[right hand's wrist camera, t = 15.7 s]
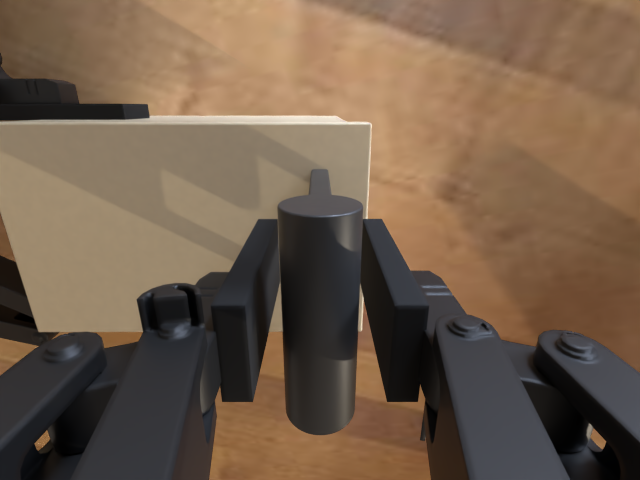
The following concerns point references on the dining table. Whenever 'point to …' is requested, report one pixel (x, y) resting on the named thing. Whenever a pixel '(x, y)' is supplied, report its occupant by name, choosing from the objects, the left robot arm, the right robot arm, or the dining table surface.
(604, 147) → the dining table surface
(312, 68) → the dining table surface
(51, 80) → the left robot arm
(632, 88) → the dining table surface
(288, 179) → the lid
